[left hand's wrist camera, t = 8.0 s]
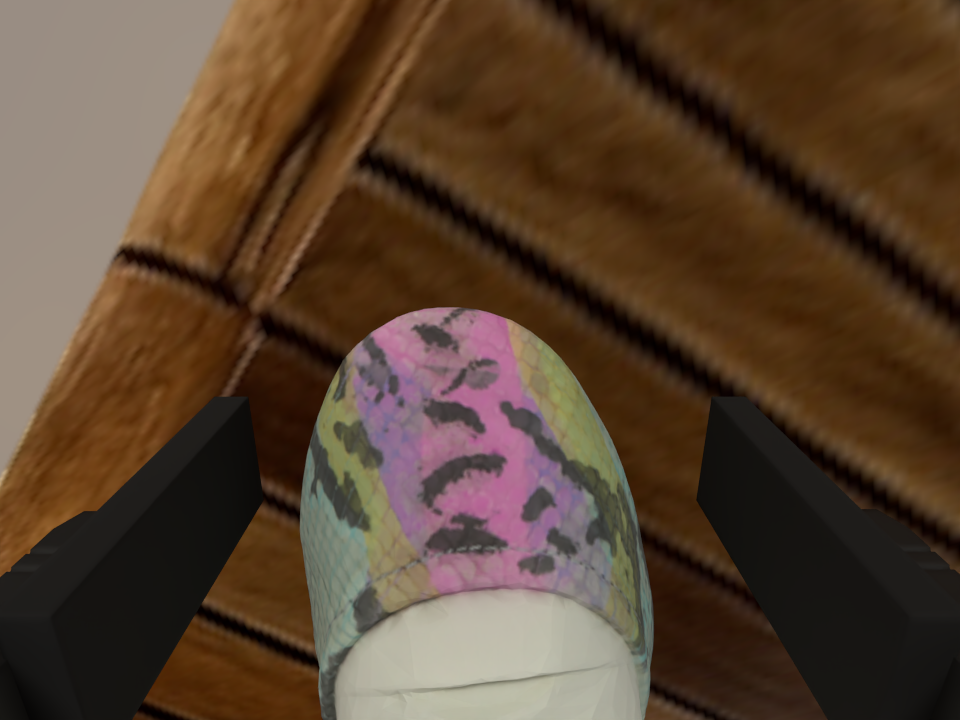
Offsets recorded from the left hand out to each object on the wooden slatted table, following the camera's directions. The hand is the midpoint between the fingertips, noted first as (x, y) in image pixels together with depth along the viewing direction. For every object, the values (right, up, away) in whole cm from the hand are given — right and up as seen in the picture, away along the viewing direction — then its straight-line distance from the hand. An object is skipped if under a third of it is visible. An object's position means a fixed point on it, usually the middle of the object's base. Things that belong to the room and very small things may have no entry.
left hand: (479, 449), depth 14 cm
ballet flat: (0, -8, +4) cm, 9 cm away
